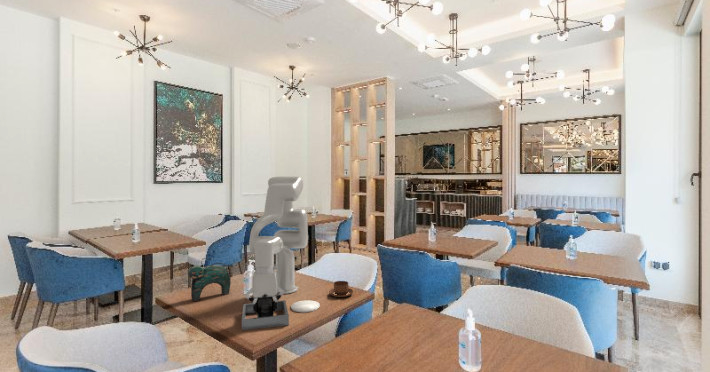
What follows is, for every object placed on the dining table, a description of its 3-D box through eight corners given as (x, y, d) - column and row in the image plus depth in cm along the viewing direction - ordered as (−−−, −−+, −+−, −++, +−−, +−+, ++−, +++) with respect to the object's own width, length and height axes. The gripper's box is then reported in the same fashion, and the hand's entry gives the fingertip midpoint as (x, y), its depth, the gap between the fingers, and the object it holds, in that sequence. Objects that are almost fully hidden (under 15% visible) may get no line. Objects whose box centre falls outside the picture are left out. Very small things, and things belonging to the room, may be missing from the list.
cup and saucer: (357, 293, 183) (357, 281, 183) (344, 300, 173) (344, 288, 173) (338, 289, 189) (338, 278, 189) (324, 296, 179) (324, 284, 179)
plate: (289, 303, 169) (289, 301, 169) (317, 300, 172) (317, 299, 172) (292, 313, 156) (292, 312, 156) (322, 310, 160) (322, 308, 160)
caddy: (243, 313, 157) (243, 304, 157) (285, 309, 162) (285, 300, 162) (241, 330, 140) (241, 320, 140) (288, 325, 145) (288, 315, 145)
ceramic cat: (190, 303, 170) (189, 261, 170) (186, 299, 175) (185, 258, 175) (232, 294, 183) (231, 255, 182) (227, 291, 188) (227, 253, 187)
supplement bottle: (276, 316, 153) (276, 288, 153) (267, 323, 147) (267, 293, 146) (262, 314, 155) (262, 287, 155) (253, 320, 149) (253, 292, 149)
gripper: (285, 265, 156) (285, 306, 157) (243, 268, 152) (243, 310, 152) (286, 270, 149) (286, 312, 150) (242, 273, 145) (243, 317, 145)
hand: (265, 311), depth 151 cm, fingers closed on supplement bottle, 6 cm apart
